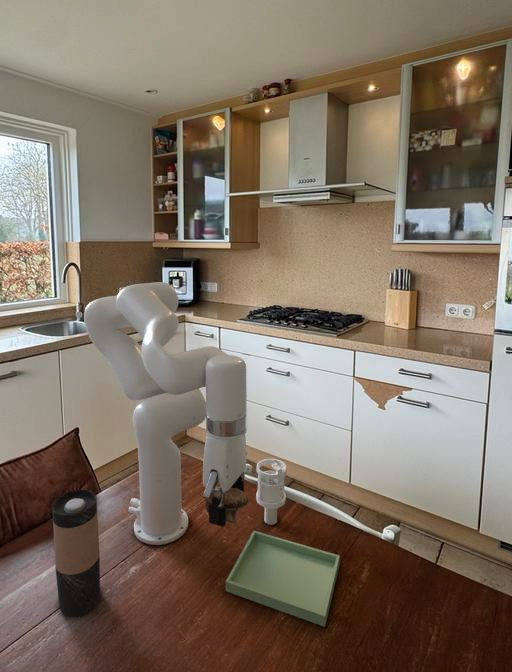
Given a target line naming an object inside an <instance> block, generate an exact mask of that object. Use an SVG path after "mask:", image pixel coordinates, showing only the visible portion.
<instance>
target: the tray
mask: <svg viewBox="0 0 512 672" xmlns="http://www.w3.org/2000/svg"><path fill="white" fill-rule="evenodd" d="M340 563H341V555H339V554H336V553H332V552H330V551H325V550H321V549H318V548H316V547H311V546H308V545H305V544H301V543H298V542H295V541H291V540H287V539H285V538H280V537H277V536H274V535H270V534H268V533H263V532H260V531H257V530H253V531H252V533H251V535H250V536H249V537H248V540H247V541H246V544H245V545H244V547H243V549H242V550H241V553H240V554H239V556H238V558H237V559H236V562H235V563H234V565H233V567H232V569H231V571H230V573H229V574H228V577H226V580H225V592H227V593H230V594H232V595H234V596H238V597H241V598H243V599H246V600H249V601H252V602H255V603H257V604H259V605H262V606H266V607H269V608H272V609H273V610H277V611H278V612H283V613H285V614H287V615H291V616H293V617H295V618H298V619H301V620H305V621H307V622H310V623H313V624H315V625H318V626H321V627H324V628H325V627H326V625H327V621H328V616H329V611H330V607H331V604H332V599H333V595H334V590H335V586H336V582H337V577H338V573H339V568H340V565H341V564H340Z"/></svg>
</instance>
